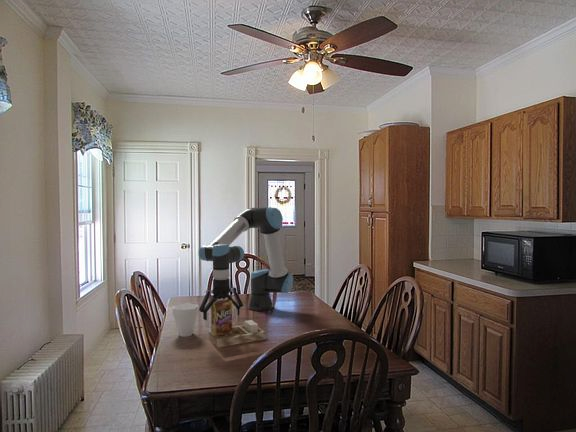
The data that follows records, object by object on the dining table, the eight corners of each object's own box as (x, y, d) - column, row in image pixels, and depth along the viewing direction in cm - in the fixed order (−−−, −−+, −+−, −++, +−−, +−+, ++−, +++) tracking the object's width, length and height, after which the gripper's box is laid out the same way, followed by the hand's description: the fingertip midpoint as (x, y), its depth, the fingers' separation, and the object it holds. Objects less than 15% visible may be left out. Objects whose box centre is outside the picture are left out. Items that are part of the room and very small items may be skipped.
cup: (185, 340, 181) (184, 311, 181) (167, 335, 188) (167, 307, 187) (204, 332, 192) (203, 305, 191) (186, 328, 198) (186, 302, 198)
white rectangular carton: (251, 332, 189) (251, 319, 188) (257, 336, 181) (257, 324, 181) (244, 333, 187) (244, 320, 187) (250, 338, 180) (250, 325, 180)
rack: (253, 331, 193) (252, 323, 193) (266, 341, 179) (266, 332, 179) (207, 339, 183) (207, 330, 182) (218, 350, 168) (218, 340, 168)
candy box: (214, 336, 173) (214, 302, 173) (210, 334, 177) (210, 300, 176) (232, 333, 178) (232, 300, 178) (228, 330, 182) (228, 298, 181)
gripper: (243, 274, 186) (244, 318, 186) (191, 279, 174) (192, 326, 175) (249, 277, 179) (250, 322, 180) (196, 282, 168) (196, 330, 168)
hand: (221, 324), depth 177 cm, fingers open, 13 cm apart
